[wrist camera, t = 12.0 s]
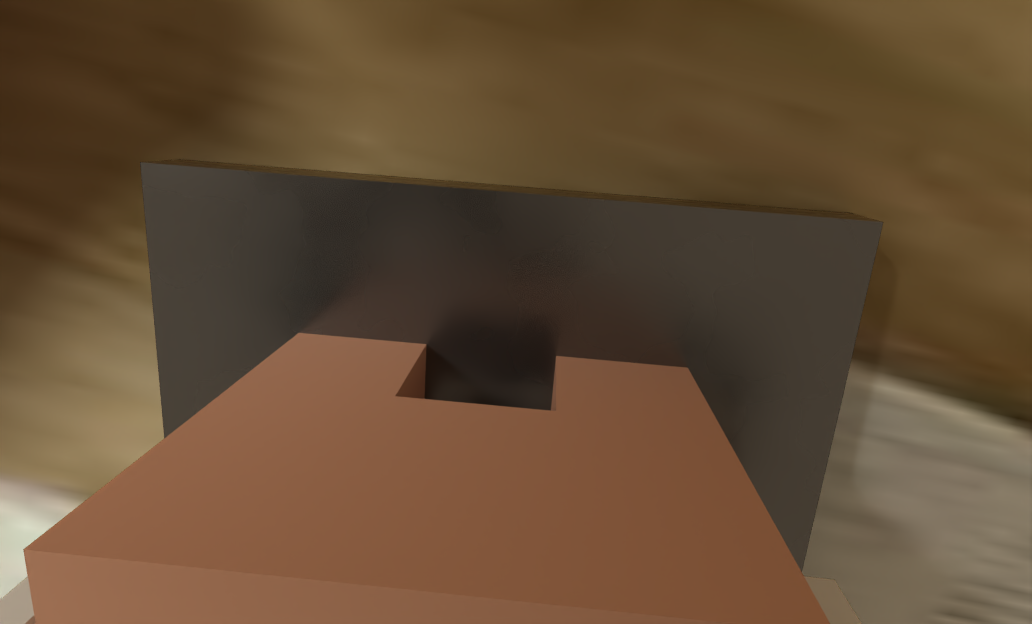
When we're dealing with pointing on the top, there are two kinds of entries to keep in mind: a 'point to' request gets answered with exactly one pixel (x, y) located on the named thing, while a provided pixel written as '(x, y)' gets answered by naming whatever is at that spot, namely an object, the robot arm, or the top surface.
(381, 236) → the post plate
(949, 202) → the top surface
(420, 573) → the hollow square tube
